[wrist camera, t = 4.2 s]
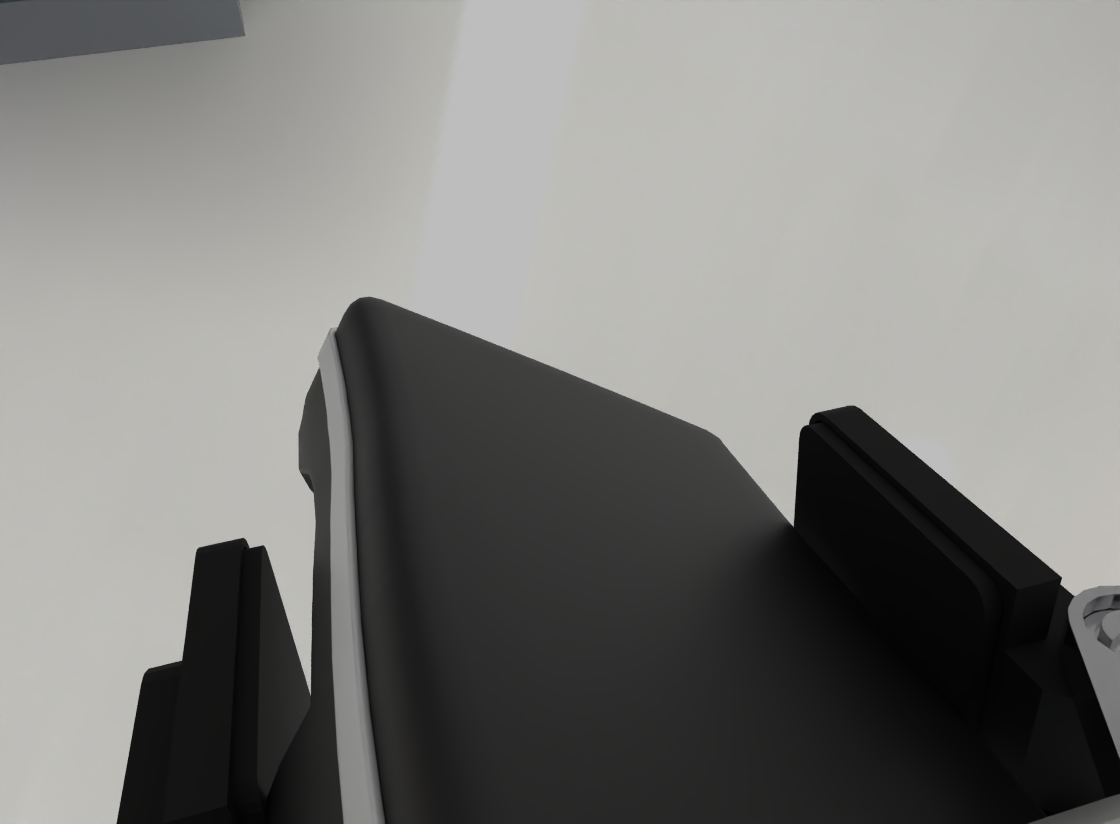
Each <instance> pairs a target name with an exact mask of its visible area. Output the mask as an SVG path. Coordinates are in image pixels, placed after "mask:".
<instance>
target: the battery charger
mask: <svg viewBox="0 0 1120 824" xmlns="http://www.w3.org/2000/svg"><path fill="white" fill-rule="evenodd" d="M318 362H319V366H320V367H319V369H318V371H317V374H316V376H315V378H314V380H313V382H312V384H311V387H310V389H309V391H308V393H307V396H306V399H305V404H304V411H303V417H302V421H301V425H300V429H299V470H300V473H301V474H302V476H303V478H304V479H305V481H306V483H307V485H308V486H309V488H310V490H311V491H312V492H313V493H314V503H315V517H316V529H315V548H314V567H313V601H312V652H311V706H310V708H309V710H308V712H307V714H306V716H305V717H304V719H303V721H302V723H301V725H300V727H299V729H298V731H297V732H296V734H295V736H294V738H293V740H292V742H291V744H290V746H289V748H288V749H287V751H286V753H285V755H284V757H283V759H282V761H281V763H280V765H279V767H278V770H277V772H276V775H275V778H274V780H273V783H272V786H271V788H270V791H269V794H268V796H267V819H266V824H1028V823H1031V822H1034V821H1037V820H1040V819H1043V818H1046V817H1048V816H1047V814H1046V813H1045V812H1044V811H1043V810H1042V809H1041V807H1040V806H1039V805H1038V804H1037V803H1036V802H1035V800H1034V799H1033V798H1032V797H1031V796H1030V795H1029V793H1028V792H1027V791H1026V790H1025V789H1024V787H1023V786H1022V785H1021V784H1020V783H1019V782H1018V780H1017V779H1016V778H1015V777H1014V776H1013V775H1012V774H1011V772H1010V771H1009V770H1008V769H1007V768H1006V767H1005V765H1004V764H1003V763H1002V762H1001V761H1000V760H999V759H998V757H997V756H996V755H995V754H994V753H993V752H992V750H991V749H990V748H989V747H988V746H987V745H986V744H985V742H984V741H983V740H982V739H981V738H980V737H979V736H978V734H977V733H976V732H975V731H974V730H973V729H972V727H971V726H970V725H969V724H968V723H967V722H966V721H965V719H964V718H963V717H962V716H961V715H960V714H959V712H958V711H957V710H956V709H955V708H954V707H953V706H952V705H951V703H950V702H949V701H948V700H947V699H946V698H945V697H944V695H943V694H942V693H941V692H940V691H939V690H938V689H937V688H936V686H935V685H934V684H933V683H932V682H931V681H930V680H929V679H928V677H927V676H926V675H925V674H924V673H923V672H922V671H921V670H920V668H919V667H918V666H917V665H916V664H915V663H914V662H913V660H912V659H911V658H910V657H909V656H908V655H907V654H906V653H905V651H904V650H903V649H902V648H901V647H900V646H899V645H898V644H897V643H896V641H895V640H894V639H893V638H892V637H891V636H890V635H889V633H888V632H887V631H886V630H885V629H884V628H883V627H882V626H881V624H880V623H879V622H878V621H877V620H876V619H875V618H874V617H873V616H872V614H871V613H870V612H869V611H868V610H867V609H866V608H865V607H864V605H863V604H862V603H861V602H860V601H859V600H858V599H857V598H856V596H855V595H854V594H853V593H852V592H851V591H850V590H849V589H848V588H847V586H846V585H845V584H844V583H843V582H842V581H841V580H840V579H839V578H838V577H837V575H836V574H835V573H834V572H833V571H832V570H831V569H830V568H829V567H828V566H827V564H826V563H825V562H824V561H823V560H822V559H821V558H820V557H819V556H818V555H817V553H816V552H815V551H814V550H813V549H812V548H811V547H810V546H809V545H808V543H807V542H806V541H805V540H804V539H803V538H802V537H801V535H800V534H799V533H798V532H797V531H796V530H795V528H794V527H793V526H792V525H791V524H790V523H789V522H788V520H787V519H786V518H785V517H784V516H783V515H782V513H781V512H780V511H779V510H778V509H777V507H776V506H775V505H774V504H773V503H772V501H771V500H770V499H769V498H768V497H767V495H766V494H765V493H764V492H763V491H762V490H761V488H760V487H759V486H758V485H757V484H756V482H755V481H754V480H753V479H752V478H751V476H750V475H749V474H748V473H747V472H746V470H745V469H744V468H743V467H742V466H741V464H740V463H739V462H738V461H737V460H736V458H735V457H734V456H733V455H732V454H731V452H730V451H729V450H728V449H727V448H726V446H725V445H724V444H723V443H722V441H721V440H720V439H719V438H718V437H716V436H715V435H713V434H712V433H710V432H708V431H707V430H705V429H702V428H700V427H698V426H695V425H693V424H690V423H688V422H686V421H683V420H681V419H678V418H676V417H674V416H671V415H669V414H666V413H664V412H661V411H659V410H657V409H654V408H652V407H649V406H647V405H645V404H642V403H640V402H637V401H635V400H632V399H630V398H627V397H625V396H622V395H620V394H618V393H615V392H613V391H610V390H608V389H605V388H603V387H600V386H598V385H596V384H593V383H591V382H588V381H586V380H583V379H581V378H578V377H576V376H573V375H571V374H569V373H566V372H564V371H561V370H559V369H556V368H554V367H551V366H549V365H546V364H544V363H541V362H539V361H536V360H534V359H531V358H529V357H526V356H524V355H521V354H519V353H516V352H513V351H511V350H508V349H506V348H503V347H501V346H498V345H496V344H493V343H491V342H488V341H486V340H483V339H481V338H478V337H476V336H473V335H471V334H468V333H466V332H463V331H461V330H458V329H456V328H453V327H450V326H448V325H445V324H443V323H440V322H438V321H435V320H433V319H430V318H427V317H425V316H422V315H420V314H417V313H415V312H412V311H409V310H407V309H404V308H402V307H399V306H397V305H394V304H391V303H389V302H386V301H384V300H381V299H377V298H373V297H364V298H359V299H357V300H356V301H354V302H353V303H351V304H350V306H349V307H348V309H347V310H346V312H345V314H344V315H343V317H342V320H341V322H340V324H339V326H338V328H331V329H330V330H329V332H328V335H327V337H326V339H325V341H324V343H323V345H322V348H321V350H320V352H319V355H318Z"/></svg>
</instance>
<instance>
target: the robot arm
mask: <svg viewBox="0 0 1120 824" xmlns="http://www.w3.org/2000/svg"><path fill="white" fill-rule="evenodd" d="M794 528H795V530H796V531H797V532H798V533H799V534H800V535H801V537H802V538H803V539H804V540H805V541H806V542H807V543H808V545H809V546H810V547H811V548H812V549H813V550H814V551H815V552H816V553H817V555H818V556H819V557H820V558H821V559H822V560H823V561H824V562H825V563H826V564H827V566H828V567H829V568H830V569H831V570H832V571H833V572H834V573H835V574H836V575H837V577H838V578H839V579H840V580H841V581H842V582H843V583H844V584H845V585H846V586H847V588H848V589H849V590H850V591H851V592H852V593H853V594H854V595H855V596H856V598H857V599H858V600H859V601H860V602H861V603H862V604H863V605H864V607H865V608H866V609H867V610H868V611H869V612H870V613H871V614H872V616H873V617H874V618H875V619H876V620H877V621H878V622H879V623H880V624H881V626H882V627H883V628H884V629H885V630H886V631H887V632H888V633H889V635H890V636H891V637H892V638H893V639H894V640H895V641H896V643H897V644H898V645H899V646H900V647H901V648H902V649H903V650H904V651H905V653H906V654H907V655H908V656H909V657H910V658H911V659H912V660H913V662H914V663H915V664H916V665H917V666H918V667H919V668H920V670H921V671H922V672H923V673H924V674H925V675H926V676H927V677H928V679H929V680H930V681H931V682H932V683H933V684H934V685H935V686H936V688H937V689H938V690H939V691H940V692H941V693H942V694H943V695H944V697H945V698H946V699H947V700H948V701H949V702H950V703H951V705H952V706H953V707H954V708H955V709H956V710H957V711H958V712H959V714H960V715H961V716H962V717H963V718H964V719H965V721H966V722H967V723H968V724H969V725H970V726H971V727H972V729H973V730H974V731H975V732H976V733H977V734H978V736H979V737H980V738H981V739H982V740H983V741H984V742H985V744H986V745H987V746H988V747H989V748H990V749H991V750H992V752H993V753H994V754H995V755H996V756H997V757H998V759H999V760H1000V761H1001V762H1002V763H1003V764H1004V765H1005V767H1006V768H1007V769H1008V770H1009V771H1010V772H1011V774H1012V775H1013V776H1014V777H1015V778H1016V779H1017V780H1018V782H1019V783H1020V784H1021V785H1022V786H1023V787H1024V789H1025V790H1026V791H1027V792H1028V793H1029V795H1030V796H1031V797H1032V798H1033V799H1034V800H1035V802H1036V803H1037V804H1038V805H1039V806H1040V807H1041V809H1042V810H1043V811H1044V812H1045V813H1046V814H1047V816H1048V817H1046V818H1043V819H1040V820H1037V821H1034V822H1031V823H1028V824H1120V586H1099V587H1095V588H1091V589H1087V590H1084V591H1082V592H1081V593H1080V594H1078V595H1077V596H1073V595H1072V594H1071V593H1070V592H1069V591H1067V590H1066V589H1065V588H1064V587H1063V586H1062V585H1060V583H1061V579H1062V577H1061V576H1059V575H1058V574H1057V573H1056V572H1055V571H1053V570H1052V569H1051V568H1050V567H1049V566H1047V565H1046V564H1045V563H1044V562H1043V561H1041V560H1040V559H1039V558H1038V557H1037V556H1035V555H1034V554H1033V553H1032V552H1031V551H1030V550H1028V549H1027V548H1026V547H1025V546H1024V545H1022V544H1021V543H1020V542H1019V541H1018V540H1016V539H1015V538H1014V537H1013V536H1012V535H1010V534H1009V533H1008V532H1007V531H1006V530H1004V529H1003V528H1002V527H1001V526H1000V525H998V524H997V523H996V522H995V521H994V520H992V519H991V518H990V517H989V516H988V515H986V514H985V513H984V512H983V511H982V510H981V509H979V508H978V507H977V506H976V505H975V504H973V503H972V502H971V501H970V500H969V499H967V498H966V497H965V496H964V495H963V494H961V493H960V492H959V491H958V490H957V489H955V488H954V487H953V486H952V485H951V484H949V483H948V482H947V481H946V480H945V479H943V478H942V477H941V476H940V475H939V474H937V473H936V472H935V471H934V470H933V469H931V468H930V467H929V466H928V465H927V464H926V463H924V462H923V461H922V460H921V459H920V458H918V457H917V456H916V455H915V454H914V453H912V452H911V451H910V450H909V449H908V448H906V447H905V446H904V445H903V444H902V443H900V442H899V441H898V440H897V439H896V438H894V437H893V436H892V435H891V434H890V433H888V432H887V431H886V430H885V429H884V428H883V427H881V426H880V425H879V424H878V423H877V422H875V421H874V420H873V419H872V418H871V417H869V416H868V415H867V414H866V413H865V412H863V411H862V410H861V409H860V408H858V407H856V406H846V407H841V408H837V409H832V410H827V411H823V412H818V413H815V414H814V415H812V417H811V419H810V422H809V425H806V426H804V427H803V428H802V429H801V431H800V437H799V452H798V468H797V484H796V500H795V516H794ZM310 706H311V696H310V692H309V689H308V686H307V682H306V679H305V676H304V672H303V669H302V666H301V662H300V659H299V656H298V653H297V649H296V646H295V643H294V639H293V636H292V633H291V629H290V626H289V623H288V619H287V616H286V613H285V609H284V606H283V603H282V599H281V596H280V593H279V589H278V586H277V583H276V580H275V576H274V573H273V570H272V566H271V563H270V560H269V556H268V553H267V550H266V548H265V546H258V547H253V548H249V545H248V543H247V541H246V539H244V538H241V539H236V540H231V541H227V542H222V543H218V544H213V545H208V546H204V547H199V548H198V549H197V552H196V557H195V564H194V572H193V580H192V588H191V596H190V604H189V612H188V620H187V628H186V636H185V643H184V651H183V659H182V661H179V662H175V663H170V664H166V665H162V666H158V667H154V668H150V669H148V670H147V671H146V672H145V674H144V677H143V680H142V683H141V689H140V694H139V700H138V706H137V711H136V717H135V723H134V728H133V734H132V740H131V745H130V751H129V757H128V762H127V768H126V774H125V779H124V785H123V791H122V796H121V802H120V808H119V813H118V819H117V824H266V819H267V796H268V794H269V791H270V788H271V786H272V783H273V780H274V778H275V775H276V772H277V770H278V767H279V765H280V763H281V761H282V759H283V757H284V755H285V753H286V751H287V749H288V748H289V746H290V744H291V742H292V740H293V738H294V736H295V734H296V732H297V731H298V729H299V727H300V725H301V723H302V721H303V719H304V717H305V716H306V714H307V712H308V710H309V708H310Z"/></svg>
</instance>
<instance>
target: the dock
mask: <svg viewBox="0 0 1120 824" xmlns="http://www.w3.org/2000/svg"><path fill="white" fill-rule="evenodd" d="M240 36H245V31H244V24H243V19H242V14H241V10H240V6H239V2H238V0H0V65H2V64H10V63H19V62H27V61H36V60H45V59H53V58H62V57H70V56H79V55H87V54H96V53H104V52H113V51H121V50H130V49H138V48H147V47H155V46H164V45H172V44H181V43H189V42H198V41H206V40H215V39H223V38H232V37H240Z"/></svg>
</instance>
